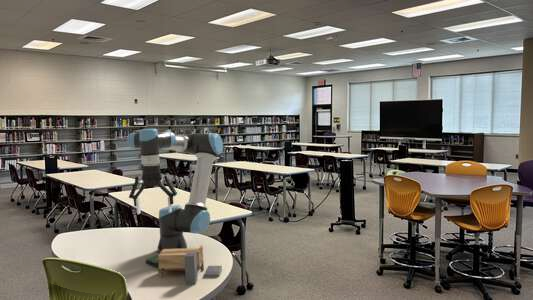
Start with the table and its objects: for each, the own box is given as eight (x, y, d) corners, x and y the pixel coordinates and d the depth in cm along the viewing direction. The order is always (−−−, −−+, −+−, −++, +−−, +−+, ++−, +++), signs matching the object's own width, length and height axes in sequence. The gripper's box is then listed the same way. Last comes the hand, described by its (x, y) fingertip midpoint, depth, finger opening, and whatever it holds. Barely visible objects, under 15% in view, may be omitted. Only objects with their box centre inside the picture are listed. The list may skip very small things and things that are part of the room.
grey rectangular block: (193, 271, 174) (191, 245, 173) (201, 271, 174) (200, 245, 173) (185, 284, 162) (184, 256, 161) (195, 284, 161) (194, 256, 160)
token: (208, 271, 175) (208, 265, 175) (222, 271, 175) (221, 265, 174) (205, 277, 169) (205, 270, 169) (219, 277, 169) (219, 270, 168)
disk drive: (181, 265, 185) (163, 258, 195) (181, 259, 185) (163, 252, 194) (163, 272, 177) (145, 264, 187) (162, 266, 177) (144, 258, 187)
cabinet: (164, 270, 177) (163, 246, 176) (203, 269, 177) (202, 245, 176) (159, 277, 169) (157, 252, 168) (200, 276, 169) (199, 251, 168)
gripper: (118, 167, 164) (122, 216, 166) (178, 164, 164) (181, 213, 167) (124, 164, 171) (128, 211, 173) (181, 162, 172) (184, 209, 174)
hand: (154, 212), depth 170 cm, fingers open, 13 cm apart
